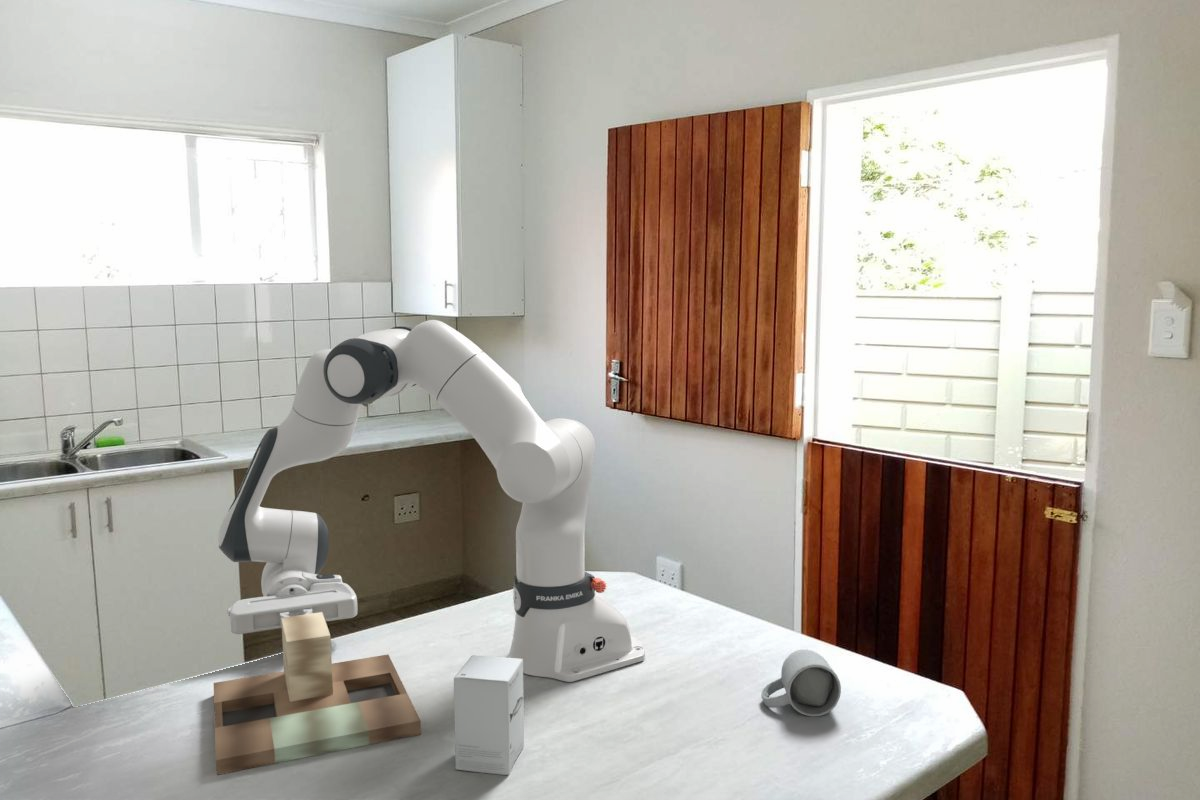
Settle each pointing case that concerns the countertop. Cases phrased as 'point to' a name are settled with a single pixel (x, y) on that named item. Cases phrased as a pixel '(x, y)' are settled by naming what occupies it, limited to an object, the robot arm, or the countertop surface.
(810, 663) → the ceramic mug
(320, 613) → the birch block
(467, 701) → the supplement box
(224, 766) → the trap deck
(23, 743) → the countertop surface
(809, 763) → the countertop surface
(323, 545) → the robot arm
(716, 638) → the countertop surface
